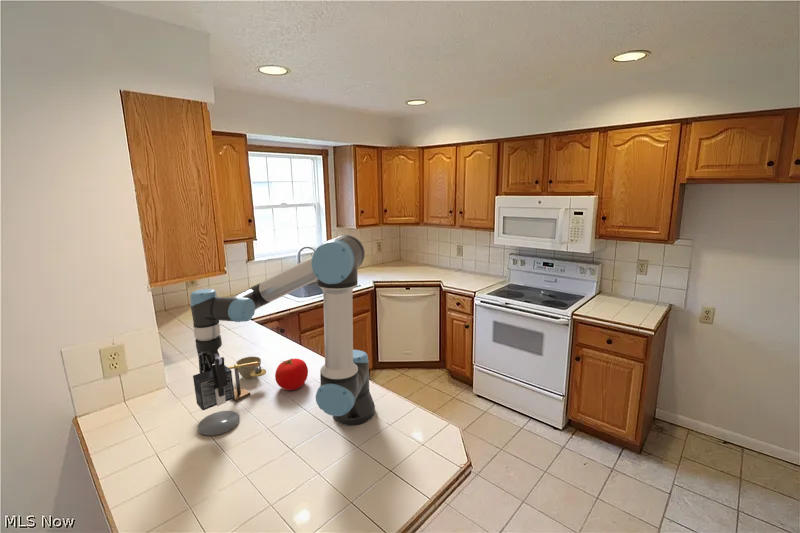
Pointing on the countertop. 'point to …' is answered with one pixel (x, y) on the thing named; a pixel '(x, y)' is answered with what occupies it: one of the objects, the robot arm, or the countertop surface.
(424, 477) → the countertop surface
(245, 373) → the flower pot
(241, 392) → the balance
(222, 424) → the dish
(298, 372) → the tomato
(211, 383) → the small box
